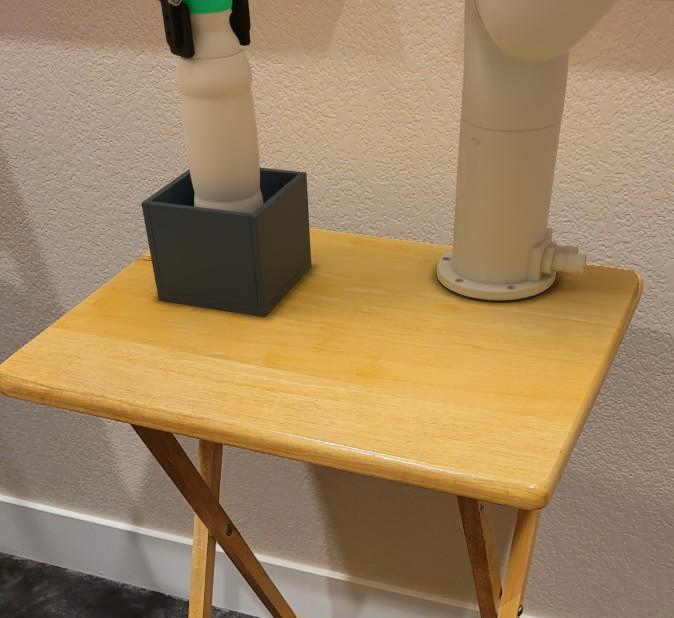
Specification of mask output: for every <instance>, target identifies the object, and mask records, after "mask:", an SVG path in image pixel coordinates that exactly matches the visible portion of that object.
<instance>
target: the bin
mask: <svg viewBox="0 0 674 618" xmlns="http://www.w3.org/2000/svg"><path fill="white" fill-rule="evenodd" d="M307 175H308V174H307V172H305V171H297V170H288V169H287V170H286V169H278V168H267V167H260V190H261V193H262V197H263V205H262V206H261V207H260V208H258V209H257V210H256V211H255V212H254V213H253V214H252V213H244V212H236V211H227V210H219V209H211V208H202V207H194V196H195V192H194V188H193V184H192V180H191V175H190V170H189V168H188V169H187V170H186V171H184V172H182V173H181V174H180V175H179V176H177V177H175V178H174V179H173V180H171V181H170V182H169V183H167V184H166V185H164V186H163V187H162V188H160V189H158V190H157V191H156V192H155V193H153V194H152V195H150V196H149V197H147V198H146V199H145V200H143V201H142V202H141V203H140V204H141V209H142V215H143V221H144V225H145V232H146V238H147V242H148V248H149V253H150V254H149V255H150V259H151V265H152V270H153V271H152V272H153V276H154V281H155V287H156V292H157V298H158V301H160V302H167V303H174V304H179V305H180V304H181V305H186V306H187V305H188V306H193V307H200V308H205V309H210V310H211V309H212V310H218V311H225V312H231V313H238V314H245V315H249V316H257V317H263V318H266V317H267V316H268V315H269V314H270V312H271V311H272V310H274V308H275V307H276V306H278V304H279V303H280V302H281V301H282V300H283V299H284V298H285V297H286V295H287V294H288V293H289V292H290V291H291V290H292V289H293V288H294V287H295V286H296V285H297V284H298V283H299V282H300V281H301V280H302V278H303V277H304V276H305V275H306V274H307V273H308V272H309V271H310V270H311V269H312V267H313V265H312V251H311V231H310V214H309V213H310V211H309V192H308V176H307Z"/></svg>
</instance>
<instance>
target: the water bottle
mask: <svg viewBox="0 0 674 618" xmlns="http://www.w3.org/2000/svg"><path fill="white" fill-rule="evenodd" d="M182 3H183V4H187V5H188V7H189V11H190V19H191V27H192V35H193V43H194V51H195V55H194V56H193V58H189V59H186V58H183V57H180V56H178V60H177V64H176V67H175V82H176V86H177V89H178V90H179V92H180V107H181V110H180V111H181V120H182V129H183V137H184V144H185V148H186V149H185V151H186V157H187V164H188V169H189V170H190V175H191V180H192V184H193V188H194V192H195V196H194V207H202V208H211V209H219V210H227V211H236V212H244V213H252V214H253V213H254V212H255V211H256V210H257V209H258V208H260V207H261V206H262V205H263V197H262V193H261V190H260V168H261V167H260V166H261V165H260V150H259V149H260V148H259V137H258V128H257V119H256V111H255V104H254V97H253V92H252V84H253V70H252V66H251V64H250V62H249V59H248V57H247V55H246V53H245V52H244V50H243V49H242V47H241V45H240V43H239V40H238V38H237V36H236V35H235V33H234V32H233V30H232V29H231V27H230V23H229V16H230V14H231V13H232V9H231V7H232V0H182Z"/></svg>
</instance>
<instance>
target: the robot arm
mask: <svg viewBox="0 0 674 618" xmlns="http://www.w3.org/2000/svg"><path fill="white" fill-rule="evenodd" d="M156 2H159V3H160V6H161V7H160V8H161V14H162V21H163V26H164V27H163V28H164V34H165V35H164V37H165V41H166V43H167V46H168V47H169V51H170V53H171V54H172V55H174V56H177V57H179V56H180V57H183V58H186V59H189V58H193V56H194V55H195V51H194V43H193V35H192V27H191V19H190V11H189V7H188V5H187V4H183V3H182V0H156ZM618 2H619V0H464V37H463V39H464V40H463V41H464V42H463V43H464V45H463V46H464V47H463V70H462V71H463V73H462V75H463V76H462V91H461V107H460V108H461V109H460V120H459V136H458V151H457V152H458V153H457V168H456V169H457V170H456V185H455V200H454V216H453V217H454V219H453V233H452V235H453V236H452V249H450V250H448V251H446V252H445V253H443V254H442V256H440V257H439V259H438V261H437V263H436V264H437V265H436V277H437V279H438V281H439V282H440V283H441V284H442V285H443V287H445V288H447V289H448V290H450V291H452V292H453V293H456V294H458V295H461V296H464V297H467V298H468V297H469V298H472V299H477V300H486V301H514V300H521V299H526V298H530V297H533V296H536V295H538V294H541V293H543V292H545V291H546V290H547V289H549V288H550V287H551V286H552V285H553V284H554V282H555V281H556V275H557V272H563V273H566V274H571V275H579V276H583V274H584V272H585V268H586V264H587V257H588V255H587V254H581V253H579V250H580V248H579V246H576V245H575V246H574V245H560V244H557V241H553V233H554V228H552V227H548V223H549V216H550V209H551V200H552V194H553V187H554V186H553V185H554V180H555V171H556V164H557V156H558V148H559V147H558V146H559V140H560V135H561V134H560V132H561V126H562V119H563V117H564V116H563V115H564V107H565V100H566V93H567V84H568V83H567V82H568V74H569V61H570V60H569V59H570V50H571V49H573V48H574V47H576V46H577V44H579V43H580V42H581V41H582V40H583V39H584V38H585V37H586V36H587V35H589V34H590V32H592V30H594V28H595V27H596V26H597V25H598V24H599V23H600V22H601V21H602V20H603V18H605V17H606V16H607V15H608V13H609V12H610V11H611V10H612V9H613V8H614V6H615V5H616V4H617V3H618ZM231 9H232V13H231V14H230V16H229V23H230V27H231V29H232V30H233V32H234V33H235V35H236V36H237V38H238V40H239V43H240V46H242V47H247V46H249V45H251V33H250V32H251V28H252V25H251V14H250V13H251V11H250V1H249V0H232V7H231Z"/></svg>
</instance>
